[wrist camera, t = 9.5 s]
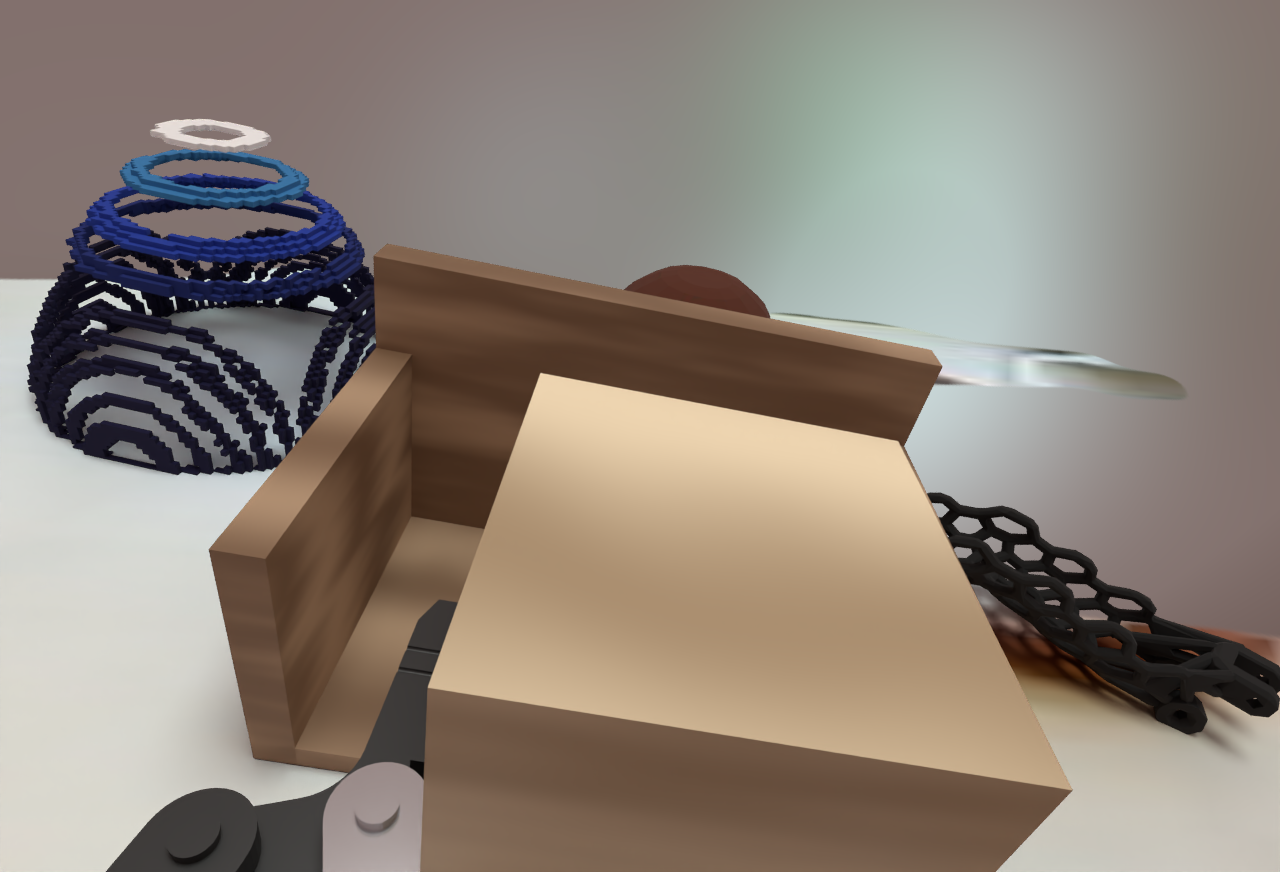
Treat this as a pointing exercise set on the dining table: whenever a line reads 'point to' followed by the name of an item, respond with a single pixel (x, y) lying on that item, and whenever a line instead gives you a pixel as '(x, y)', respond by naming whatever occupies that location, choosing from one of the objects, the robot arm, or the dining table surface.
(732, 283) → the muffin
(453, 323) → the peg frame
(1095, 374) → the dining table surface
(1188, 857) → the dining table surface
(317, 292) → the decorative bowl
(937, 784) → the oak shelf block
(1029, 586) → the decorative element
